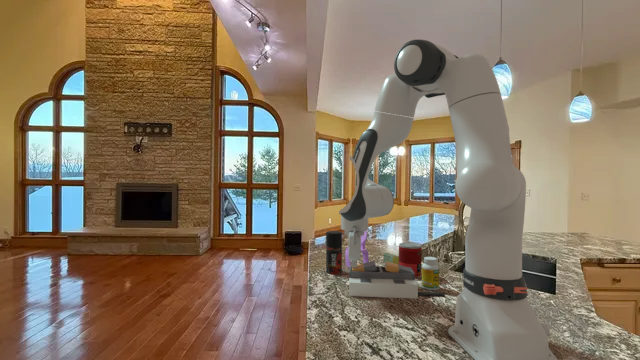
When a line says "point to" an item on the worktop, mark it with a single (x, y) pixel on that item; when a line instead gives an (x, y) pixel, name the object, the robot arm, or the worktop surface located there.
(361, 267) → the rocker
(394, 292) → the power strip
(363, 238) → the toy chair
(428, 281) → the supplement bottle
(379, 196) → the robot arm
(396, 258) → the medication box
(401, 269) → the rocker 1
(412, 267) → the canned food
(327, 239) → the deodorant
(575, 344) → the worktop surface
